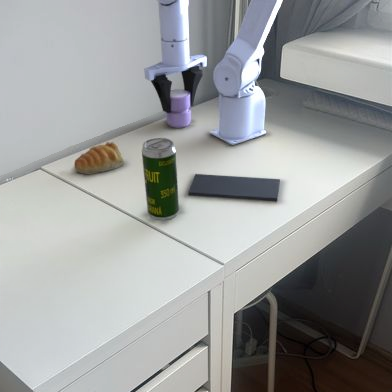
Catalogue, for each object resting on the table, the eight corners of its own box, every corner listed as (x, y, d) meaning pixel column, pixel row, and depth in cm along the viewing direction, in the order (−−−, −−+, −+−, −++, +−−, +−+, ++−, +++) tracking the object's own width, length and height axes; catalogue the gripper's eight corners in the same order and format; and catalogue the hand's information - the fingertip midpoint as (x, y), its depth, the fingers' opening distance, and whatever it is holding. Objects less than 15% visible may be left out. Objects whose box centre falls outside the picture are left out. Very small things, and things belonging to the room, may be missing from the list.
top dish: (181, 102, 115) (180, 87, 113) (195, 109, 112) (195, 93, 109) (160, 108, 113) (159, 92, 110) (174, 115, 109) (173, 99, 107)
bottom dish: (182, 117, 117) (181, 102, 115) (196, 124, 114) (195, 109, 112) (161, 123, 115) (160, 108, 113) (175, 130, 112) (174, 115, 109)
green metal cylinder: (162, 202, 90) (157, 134, 81) (185, 211, 87) (182, 142, 79) (141, 214, 87) (133, 145, 78) (164, 225, 84) (158, 154, 76)
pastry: (86, 180, 96) (82, 161, 94) (69, 168, 100) (64, 149, 97) (127, 165, 100) (124, 146, 98) (109, 154, 104) (106, 136, 101)
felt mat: (188, 195, 91) (187, 192, 91) (195, 176, 96) (195, 173, 96) (277, 201, 89) (277, 198, 88) (279, 182, 94) (280, 179, 93)
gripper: (192, 28, 108) (194, 95, 117) (134, 40, 102) (140, 110, 111) (212, 34, 103) (212, 104, 113) (152, 48, 98) (158, 120, 107)
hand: (178, 108), depth 112 cm, fingers closed on top dish, 5 cm apart
